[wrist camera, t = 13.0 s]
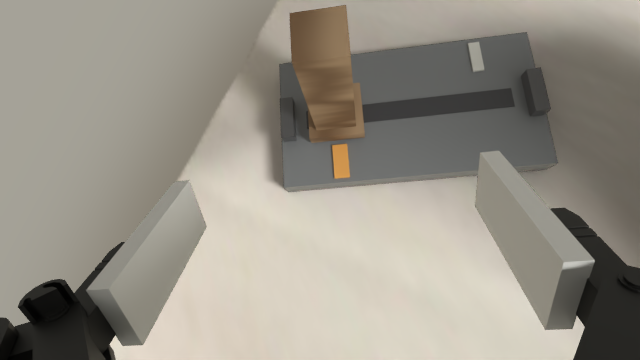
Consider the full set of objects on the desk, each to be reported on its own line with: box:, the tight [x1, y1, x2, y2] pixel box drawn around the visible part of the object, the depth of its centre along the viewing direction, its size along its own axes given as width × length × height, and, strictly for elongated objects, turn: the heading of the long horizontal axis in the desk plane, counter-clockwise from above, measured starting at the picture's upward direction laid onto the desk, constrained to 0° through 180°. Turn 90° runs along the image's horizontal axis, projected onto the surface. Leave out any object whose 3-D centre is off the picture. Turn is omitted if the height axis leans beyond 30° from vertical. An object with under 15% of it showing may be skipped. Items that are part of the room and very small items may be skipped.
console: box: [279, 32, 558, 192], centre depth 34 cm, size 24×13×3 cm, turn 93°
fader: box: [290, 5, 365, 143], centre depth 28 cm, size 5×5×12 cm
